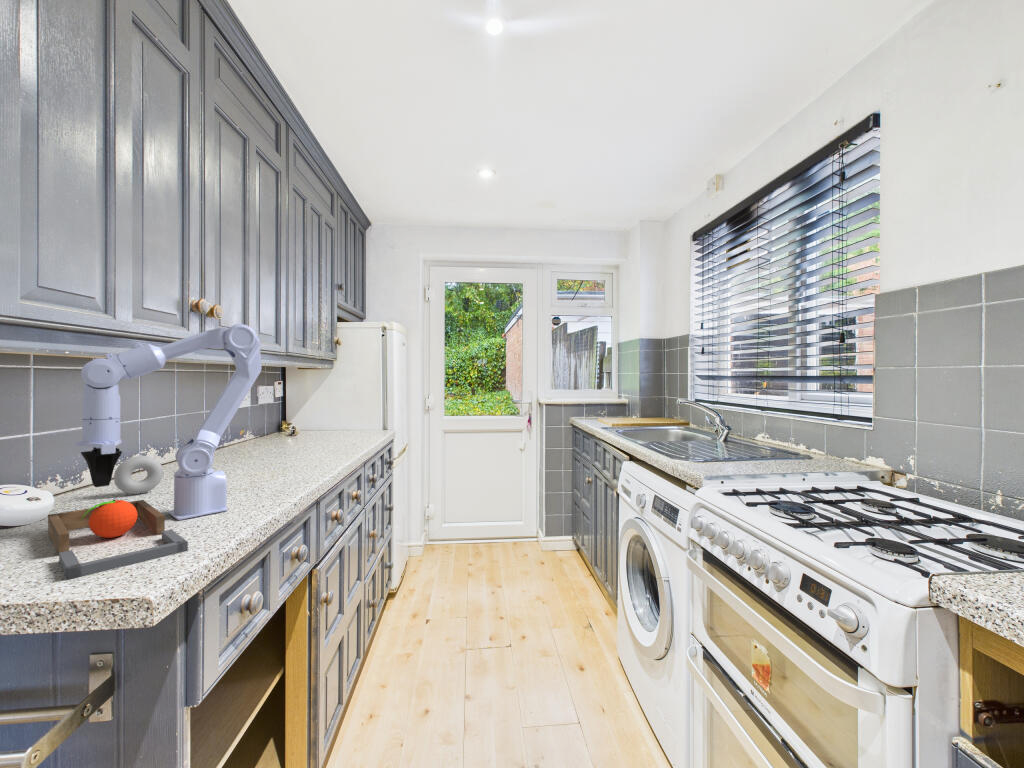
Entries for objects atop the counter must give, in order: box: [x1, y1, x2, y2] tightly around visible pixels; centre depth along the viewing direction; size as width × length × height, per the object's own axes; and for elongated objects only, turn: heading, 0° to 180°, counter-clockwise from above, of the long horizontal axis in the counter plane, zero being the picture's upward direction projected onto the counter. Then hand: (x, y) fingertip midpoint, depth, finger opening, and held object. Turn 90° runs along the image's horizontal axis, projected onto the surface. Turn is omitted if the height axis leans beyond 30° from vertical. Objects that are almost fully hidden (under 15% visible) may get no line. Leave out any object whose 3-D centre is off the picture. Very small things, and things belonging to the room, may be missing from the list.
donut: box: [113, 455, 164, 495], centre depth 115 cm, size 10×4×10 cm, turn 138°
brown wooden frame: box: [47, 499, 166, 555], centre depth 86 cm, size 14×17×4 cm
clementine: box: [82, 499, 138, 539], centre depth 83 cm, size 8×7×7 cm
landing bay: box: [58, 529, 189, 580], centre depth 75 cm, size 15×10×2 cm, turn 141°
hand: (101, 485), depth 89 cm, fingers closed
